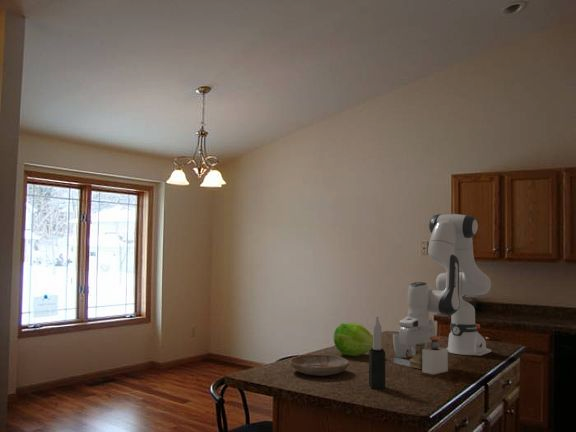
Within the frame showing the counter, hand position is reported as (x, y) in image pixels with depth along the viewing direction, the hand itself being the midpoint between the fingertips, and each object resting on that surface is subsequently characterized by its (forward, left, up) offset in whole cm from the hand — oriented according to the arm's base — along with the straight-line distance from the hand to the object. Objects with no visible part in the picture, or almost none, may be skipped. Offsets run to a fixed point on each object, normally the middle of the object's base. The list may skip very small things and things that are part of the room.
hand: (418, 354), depth 217 cm
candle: (+38, +11, -6) cm, 40 cm away
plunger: (0, +8, +2) cm, 9 cm away
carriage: (0, 0, -6) cm, 6 cm away
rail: (0, -3, -6) cm, 7 cm away
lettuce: (+4, -34, -6) cm, 34 cm away
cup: (-13, -20, -6) cm, 24 cm away
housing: (0, +8, -6) cm, 10 cm away
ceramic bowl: (+40, -18, -6) cm, 44 cm away
